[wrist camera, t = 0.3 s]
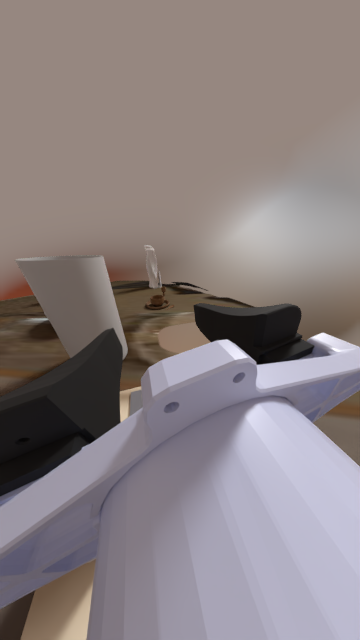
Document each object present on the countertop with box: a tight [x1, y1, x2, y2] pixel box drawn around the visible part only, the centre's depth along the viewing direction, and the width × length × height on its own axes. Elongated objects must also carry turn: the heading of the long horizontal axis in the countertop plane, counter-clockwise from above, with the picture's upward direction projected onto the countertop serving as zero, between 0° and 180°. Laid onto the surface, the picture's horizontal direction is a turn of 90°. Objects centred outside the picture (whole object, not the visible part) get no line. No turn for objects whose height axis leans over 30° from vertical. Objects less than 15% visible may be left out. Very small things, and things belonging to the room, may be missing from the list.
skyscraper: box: [144, 245, 162, 289], centre depth 94 cm, size 8×8×28 cm
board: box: [21, 387, 141, 640], centre depth 19 cm, size 20×16×2 cm
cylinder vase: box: [15, 256, 128, 360], centre depth 30 cm, size 12×12×25 cm
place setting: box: [146, 287, 174, 310], centre depth 71 cm, size 18×20×6 cm
